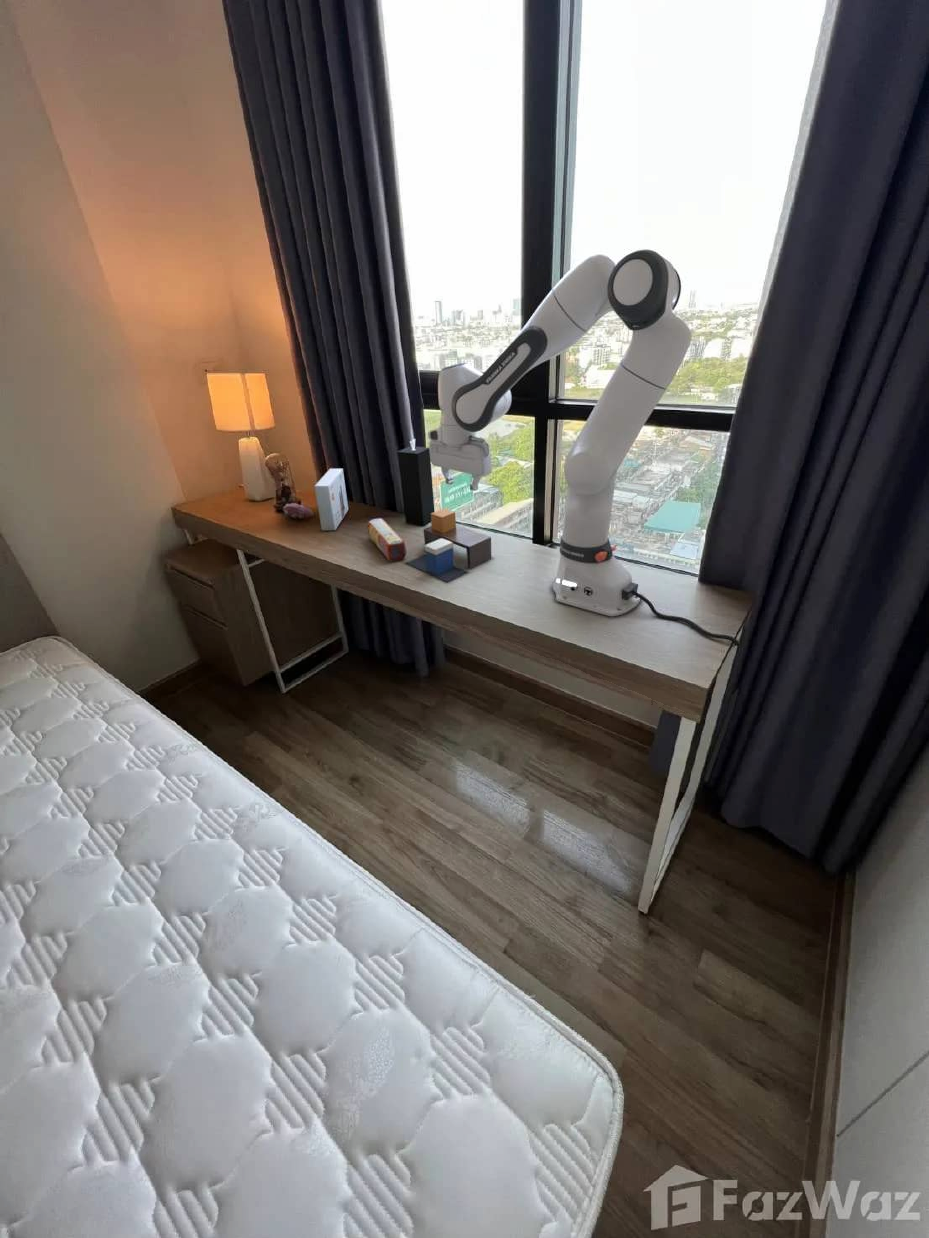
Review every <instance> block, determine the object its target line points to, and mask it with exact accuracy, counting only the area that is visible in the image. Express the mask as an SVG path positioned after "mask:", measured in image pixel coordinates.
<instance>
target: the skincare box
mask: <svg viewBox="0 0 929 1238" xmlns="http://www.w3.org/2000/svg"><path fill="white" fill-rule="evenodd" d="M314 491H315V498H316V504H317V510H318V515H319V521H320V528H321V531H336V530H337V529H338V527H339V525H340V524H341V522H342V520H343V519H344V518H345V516H346V514H347V513H348V511H349V505H348V497H347V496H348V495H347V490H346V483H345V475H344V468H329V469H328V470H327V471H326V472H325V473H324V475H322V477H321V478H320V479H319V480H318V481H317V482H316V483H315V485H314Z"/></svg>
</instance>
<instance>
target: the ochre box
mask: <svg viewBox="0 0 929 1238" xmlns="http://www.w3.org/2000/svg"><path fill="white" fill-rule="evenodd" d="M456 520H457V519H456V512H455V511H453V510H450V509H448V508H442V509H438V510H435V512H433V513H431V521H430V523H431V526H432V529H433V530H436V531H439V532H441V533H444V532H447V531H449V530H452V529H454V528H456V525H457V521H456Z"/></svg>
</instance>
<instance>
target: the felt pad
mask: <svg viewBox="0 0 929 1238" xmlns="http://www.w3.org/2000/svg"><path fill="white" fill-rule="evenodd" d="M406 564H407V566H410V567H412V568H415V569H416V570H419V571H421V572H423V573H425V574H428V575H429V576H432V577H434V578H436V579H439V580H440V581H442V582H444V583H449V582H452V581H454V580H456V579H458V578H460V577H462V576H464V575H466V574H468V573H469V571H467V570H465V569H462V568H460V567H459V566H455V565H454V568H452V569H450V570H448V571H446V572H444V573H442V574H440V575H438V576H437V575H435V574H433V573H431V572H428V571H427V567H426V556H425V554H423V555H420V556H419V557H417V558H414V559H412V560H409V561H406Z"/></svg>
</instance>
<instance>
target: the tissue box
mask: <svg viewBox="0 0 929 1238" xmlns="http://www.w3.org/2000/svg"><path fill="white" fill-rule="evenodd" d="M409 444H410V445H409V446H407V447H405V448H402V449H400V450H398V451H397V452H396V455H397V458H398V460H397V461H398V469H399V475H400V476H399V478H400V485H401V486H400V487H401V494H402V495H401V496H402V503H403V512H404V520H405V524H408V525H409V524H410V525H416V526H421V527H425V526H427V525H428V524H429V523H431V513H433V512H436V509H435V499H434V497H435V496H434V488H433V487H434V486H433V475H432V473H433V471H432V463H431V460H430V452H429V447H424V446H416V438H413V439H412V440H410V441H409Z"/></svg>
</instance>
